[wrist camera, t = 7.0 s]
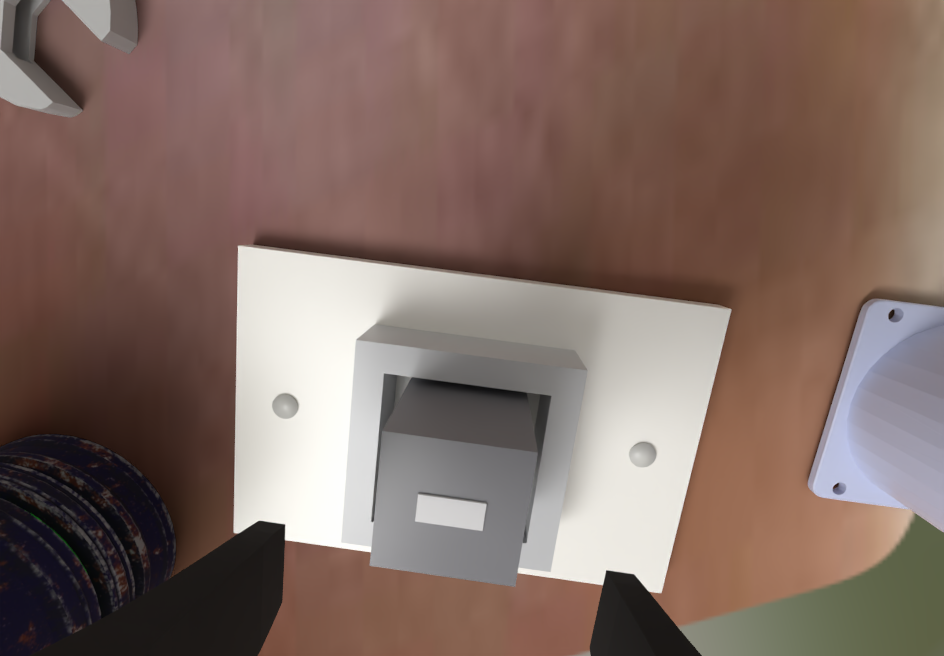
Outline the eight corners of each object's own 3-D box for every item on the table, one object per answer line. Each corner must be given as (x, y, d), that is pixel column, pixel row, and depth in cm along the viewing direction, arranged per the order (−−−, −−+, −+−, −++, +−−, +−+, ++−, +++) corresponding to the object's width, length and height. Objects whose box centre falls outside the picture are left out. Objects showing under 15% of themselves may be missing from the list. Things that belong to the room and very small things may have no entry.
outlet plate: (718, 304, 18) (771, 323, 14) (653, 575, 20) (685, 645, 17) (251, 244, 18) (195, 249, 15) (245, 518, 21) (197, 575, 17)
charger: (523, 377, 18) (538, 453, 12) (508, 473, 19) (515, 588, 13) (418, 363, 18) (381, 432, 12) (408, 459, 19) (369, 567, 13)
